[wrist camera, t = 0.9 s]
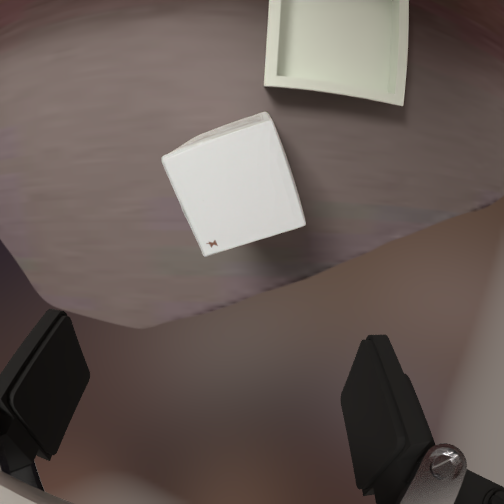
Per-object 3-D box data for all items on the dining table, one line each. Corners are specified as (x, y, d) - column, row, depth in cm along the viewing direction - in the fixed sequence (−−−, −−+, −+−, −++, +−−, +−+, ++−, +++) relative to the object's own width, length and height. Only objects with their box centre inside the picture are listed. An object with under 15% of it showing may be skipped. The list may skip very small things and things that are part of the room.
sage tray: (271, -32, 21) (271, -41, 19) (398, -8, 21) (408, -13, 19) (263, 86, 27) (264, 85, 25) (393, 104, 27) (403, 106, 25)
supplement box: (290, 178, 31) (309, 230, 20) (221, 200, 33) (201, 261, 21) (268, 108, 28) (275, 117, 17) (195, 133, 29) (156, 159, 18)
